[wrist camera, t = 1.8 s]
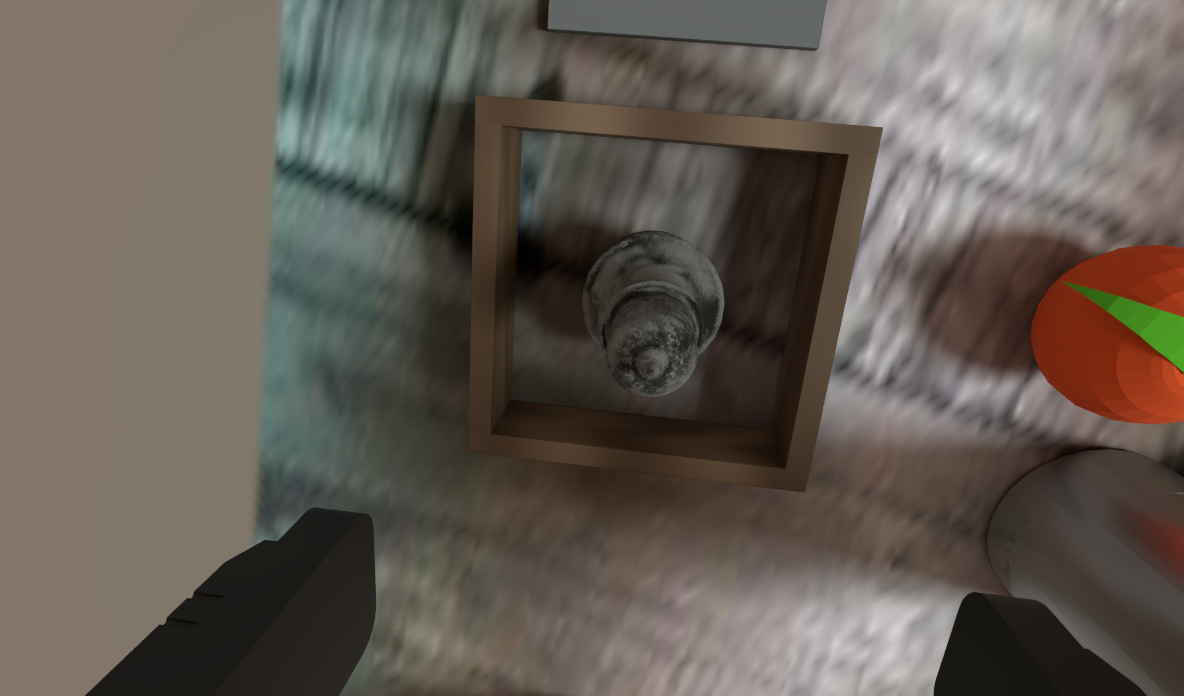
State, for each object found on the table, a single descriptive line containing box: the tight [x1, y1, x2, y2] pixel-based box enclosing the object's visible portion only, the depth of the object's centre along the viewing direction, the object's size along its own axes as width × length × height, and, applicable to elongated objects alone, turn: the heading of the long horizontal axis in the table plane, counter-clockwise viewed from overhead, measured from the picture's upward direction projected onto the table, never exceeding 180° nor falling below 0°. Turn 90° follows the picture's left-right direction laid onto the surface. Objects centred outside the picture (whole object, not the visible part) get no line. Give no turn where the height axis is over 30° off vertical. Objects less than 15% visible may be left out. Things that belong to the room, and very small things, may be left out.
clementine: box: [1031, 245, 1184, 424], centre depth 24 cm, size 8×7×7 cm
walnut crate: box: [468, 95, 883, 492], centre depth 27 cm, size 15×15×4 cm
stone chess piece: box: [582, 231, 724, 397], centre depth 23 cm, size 6×6×12 cm
